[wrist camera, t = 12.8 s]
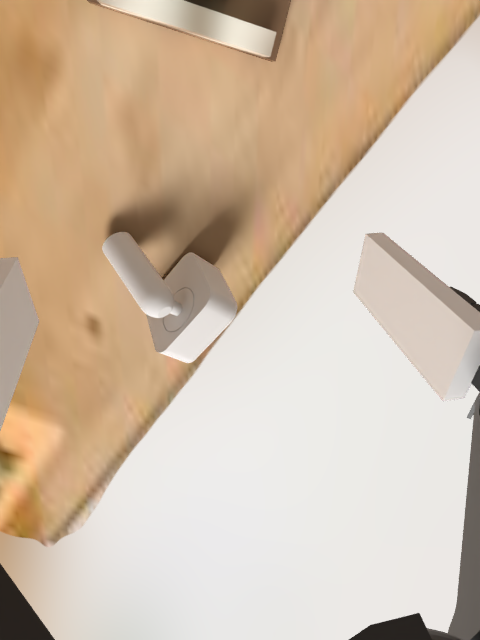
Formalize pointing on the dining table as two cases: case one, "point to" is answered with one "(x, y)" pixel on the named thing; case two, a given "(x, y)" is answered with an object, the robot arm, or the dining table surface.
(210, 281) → the wall hook
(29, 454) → the dining table surface
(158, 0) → the display stand
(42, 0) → the dining table surface
